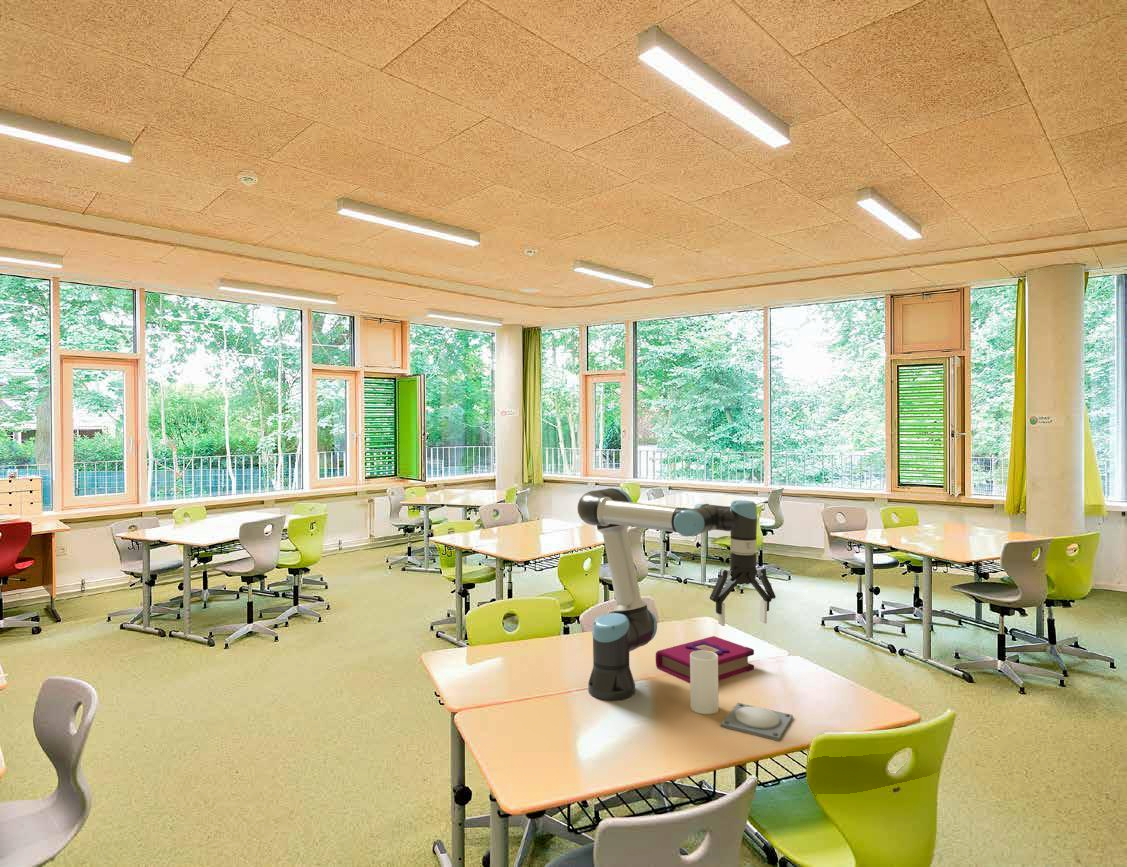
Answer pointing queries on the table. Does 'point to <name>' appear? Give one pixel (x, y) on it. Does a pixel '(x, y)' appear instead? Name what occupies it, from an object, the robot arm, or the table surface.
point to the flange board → (757, 721)
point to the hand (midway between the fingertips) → (742, 623)
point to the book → (729, 653)
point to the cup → (704, 682)
